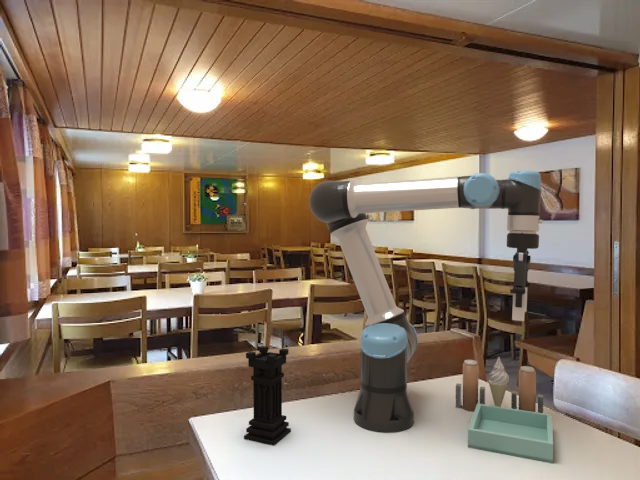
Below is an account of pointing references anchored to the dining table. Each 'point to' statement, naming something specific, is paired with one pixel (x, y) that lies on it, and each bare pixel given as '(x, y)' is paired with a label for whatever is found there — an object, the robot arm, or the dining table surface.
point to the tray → (512, 432)
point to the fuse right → (527, 389)
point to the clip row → (482, 398)
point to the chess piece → (267, 397)
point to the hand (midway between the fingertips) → (519, 315)
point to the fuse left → (470, 385)
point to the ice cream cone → (498, 382)
